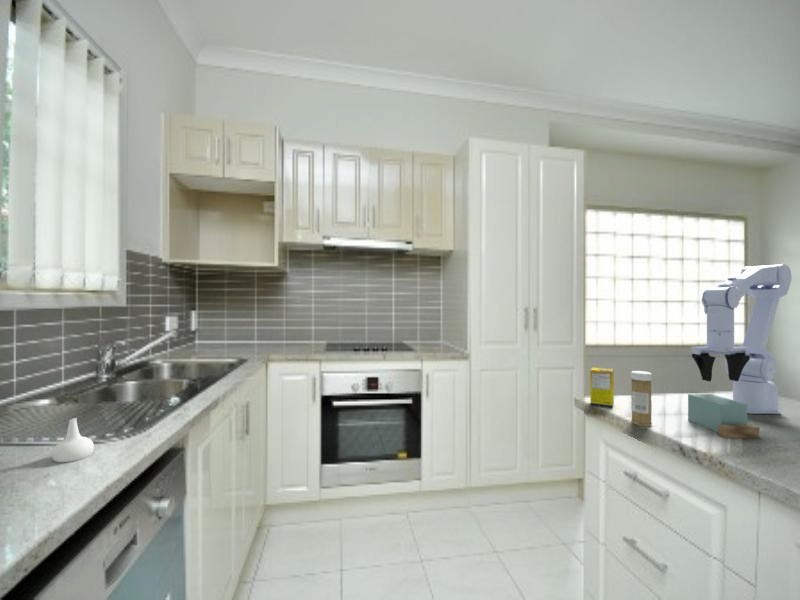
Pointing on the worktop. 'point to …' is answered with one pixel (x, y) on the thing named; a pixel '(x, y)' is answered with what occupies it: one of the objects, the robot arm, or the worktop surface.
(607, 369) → the supplement box
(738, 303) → the robot arm
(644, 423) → the sprinkles bottle
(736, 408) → the pale mint block
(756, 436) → the strip
